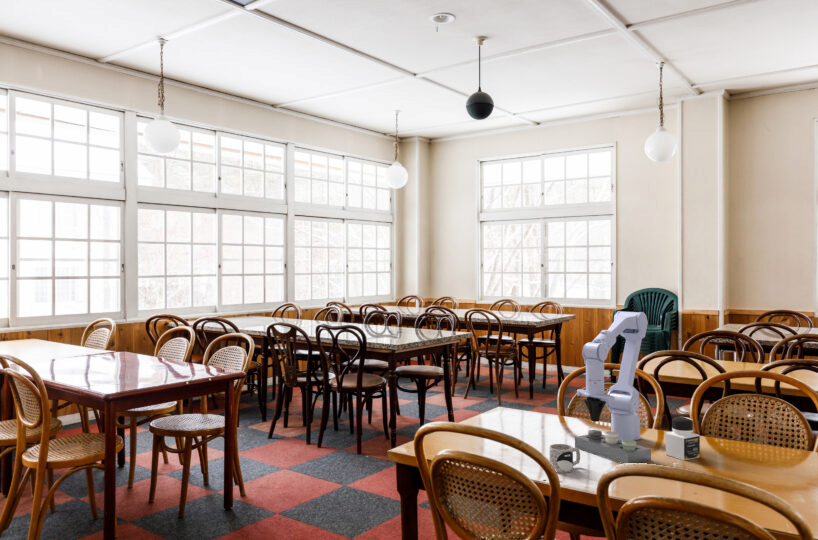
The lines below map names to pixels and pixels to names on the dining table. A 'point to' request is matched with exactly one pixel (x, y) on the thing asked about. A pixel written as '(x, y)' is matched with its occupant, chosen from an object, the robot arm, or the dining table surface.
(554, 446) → the mug
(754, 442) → the dining table surface
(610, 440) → the ivory key
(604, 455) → the key console
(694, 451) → the medicine bottle
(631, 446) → the sage key
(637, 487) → the dining table surface
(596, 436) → the grey rounded knob
